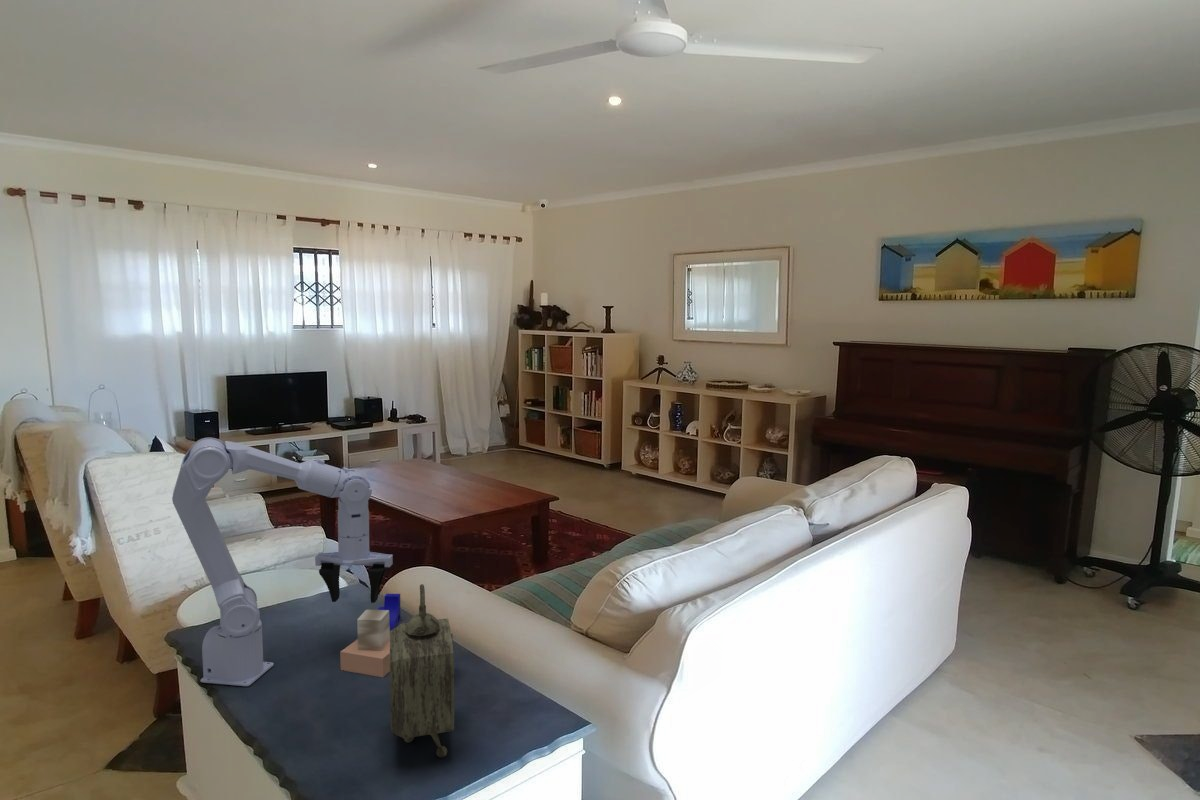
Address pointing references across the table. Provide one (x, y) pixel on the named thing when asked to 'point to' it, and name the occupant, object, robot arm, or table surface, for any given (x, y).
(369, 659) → the terracotta block
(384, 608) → the blue stepped block
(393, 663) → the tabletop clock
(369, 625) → the ivory block
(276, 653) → the table surface
